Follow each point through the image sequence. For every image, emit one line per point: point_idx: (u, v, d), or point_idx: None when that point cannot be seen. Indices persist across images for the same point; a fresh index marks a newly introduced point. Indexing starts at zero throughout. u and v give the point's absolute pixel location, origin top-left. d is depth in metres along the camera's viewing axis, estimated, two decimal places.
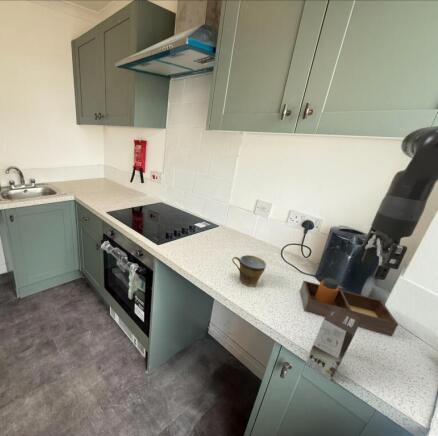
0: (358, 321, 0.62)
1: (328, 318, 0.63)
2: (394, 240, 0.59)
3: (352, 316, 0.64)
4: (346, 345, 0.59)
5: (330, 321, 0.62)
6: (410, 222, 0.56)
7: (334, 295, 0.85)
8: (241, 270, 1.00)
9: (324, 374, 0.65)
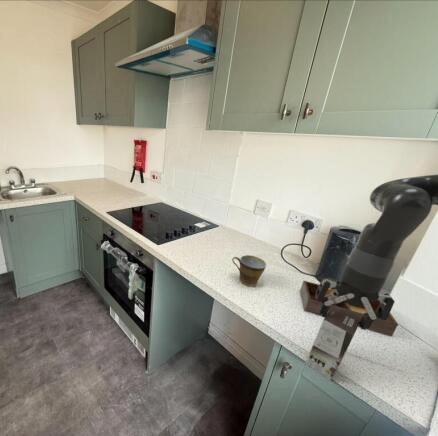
0: (358, 321, 0.62)
1: (328, 318, 0.63)
2: (339, 282, 0.61)
3: (352, 316, 0.64)
4: (346, 345, 0.60)
5: (330, 321, 0.62)
6: (349, 268, 0.58)
7: None
8: (241, 270, 1.00)
9: (324, 374, 0.65)
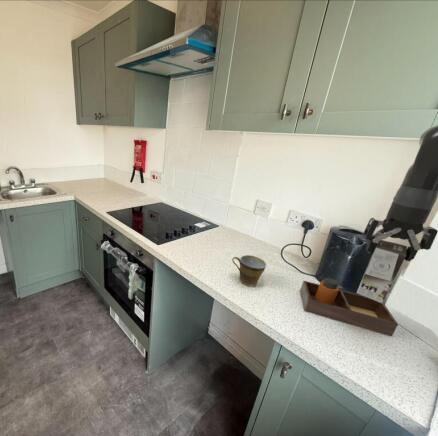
0: (405, 248, 0.70)
1: (379, 246, 0.70)
2: (386, 220, 0.69)
3: (399, 245, 0.72)
4: (398, 267, 0.67)
5: (382, 248, 0.69)
6: (396, 205, 0.66)
7: (334, 295, 0.85)
8: (241, 270, 1.00)
9: (376, 299, 0.72)
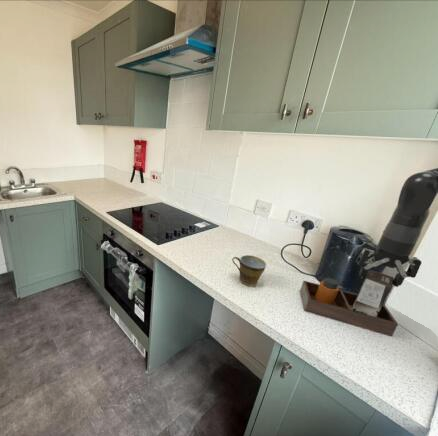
0: (392, 279, 0.79)
1: (369, 277, 0.80)
2: (376, 250, 0.78)
3: (386, 276, 0.81)
4: (385, 297, 0.76)
5: (371, 279, 0.79)
6: (385, 238, 0.75)
7: (334, 295, 0.85)
8: (241, 270, 1.00)
9: None
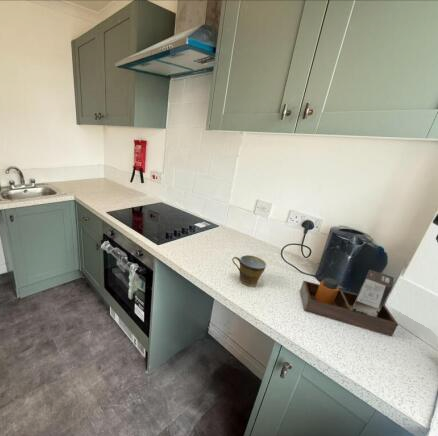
0: (392, 279, 0.79)
1: (369, 277, 0.80)
2: None
3: (387, 276, 0.81)
4: (385, 297, 0.76)
5: (371, 279, 0.79)
6: None
7: (334, 295, 0.85)
8: (241, 270, 1.00)
9: None
